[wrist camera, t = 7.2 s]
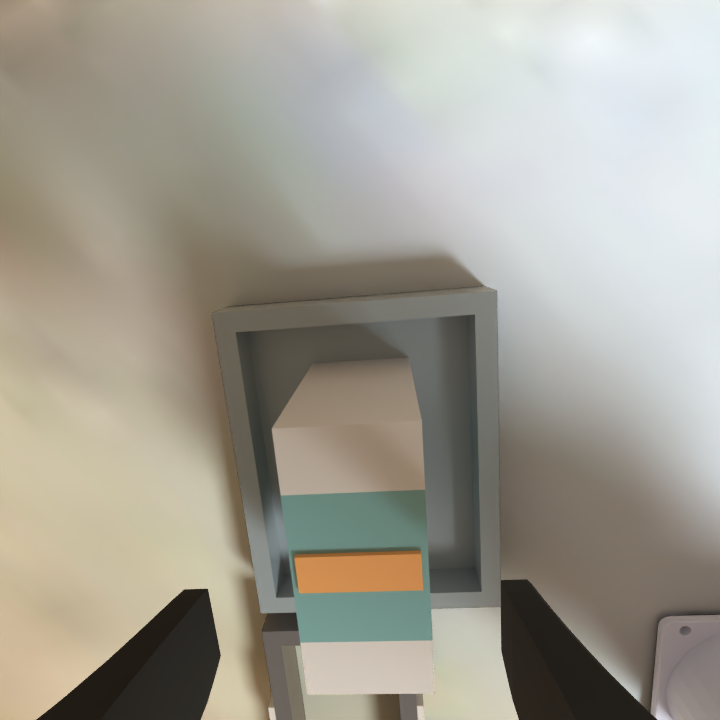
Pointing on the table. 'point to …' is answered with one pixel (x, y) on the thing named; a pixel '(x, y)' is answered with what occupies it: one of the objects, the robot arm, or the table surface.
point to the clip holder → (285, 674)
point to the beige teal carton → (357, 527)
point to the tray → (436, 404)
